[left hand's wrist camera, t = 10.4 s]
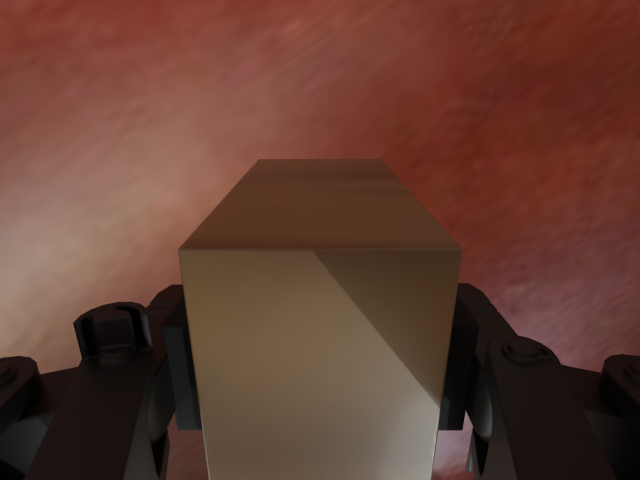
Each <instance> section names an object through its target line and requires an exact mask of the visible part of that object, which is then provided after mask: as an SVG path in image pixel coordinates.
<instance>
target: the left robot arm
mask: <svg viewBox="0 0 640 480" xmlns="http://www.w3.org/2000/svg"><path fill="white" fill-rule="evenodd" d="M73 324H74V328H75V332H76V336H77V340H78V344H79V348H80V352H81V356H82V360H81V362H80V364H79V366H78V367H74V368H70V369H65V370H60V371H55V372H50V373H45V374H40V373H39V370H38V367H37V363H36V362H35V361H34V360H33V359H31V358H30V357H23V356H15V357H4V358H0V480H166V473H167V464H168V456H169V448H170V443H169V436H168V431H167V427H168V425H169V423H170V421H171V419H172V416H173V414H174V412H175V415H176V422H177V428H178V430H202V423H201V416H200V408H199V401H198V394H197V386H196V379H195V371H194V364H193V357H192V349H191V342H190V335H189V327H188V320H187V312H186V305H185V298H184V290H183V285H171V286H169V287H167V288H166V289H164V290H162V291H161V292H159V293H158V294H157V295H156V296H155V298H154V299H153V300H152V301H151V303H150V305H148V306H147V308H145V307H144V306H142V305H141V304H139V303H134V302H116V303H111V304H106V305H102V306H99V307H97V308H94V309H91V310H89V311H88V312H86V313H84V314H82V315H81V316H79V317H78V318H77V319H76V321H75V322H74V323H73ZM465 411H466V412H467V414H468V416H469V418H470V420H471V423H472V425H473V431H472V436H471V442H470V448H469V453H468V459H467V465H466V471H468V472H471V470H472V464H473V472H474V480H640V356H633V355H624V354H620V355H613V356H610V357H608V358H607V359H606V360H605V361H604V365H603V368H602V371H601V373H599V372H594V371H589V370H584V369H579V368H574V367H569V366H565V365H561V364H560V361H559V359H558V358H557V356H556V355H555V354H554V353H553V352H552V350H550V349H549V348H547V347H546V346H544V345H543V344H541V343H539V342H537V341H535V340H532V339H530V338H526V337H522V336H518V335H517V334H516V333H515V331H514V330H513V329H512V328H511V327H510V325H509V324H508V323H507V322H506V320H505V319H504V318H503V317H502V315H501V314H500V313H499V312H497V309H496V308H495V307H494V305H493V304H491V302H490V301H489V299H488V298H487V297H486V296H485V294H484V293H483V292H482V291H480V290H479V289H477V288H475V287H474V286H472V285H470V284H469V283H458V287H457V295H456V302H455V310H454V317H453V324H452V332H451V339H450V346H449V354H448V361H447V368H446V376H445V383H444V391H443V398H442V405H441V413H440V420H439V427H438V430H462V429H463V423H464V417H465Z"/></svg>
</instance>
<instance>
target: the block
mask: <svg viewBox="0 0 640 480" xmlns="http://www.w3.org/2000/svg"><path fill="white" fill-rule="evenodd" d="M178 253H179V261H180V268H181V275H182V283H183V290H184V298H185V305H186V312H187V320H188V327H189V335H190V342H191V349H192V357H193V364H194V371H195V379H196V386H197V394H198V401H199V408H200V416H201V423H202V431H203V438H204V445H205V453H206V460H207V468H208V475H209V480H431V479H432V472H433V464H434V457H435V449H436V442H437V435H438V427H439V420H440V413H441V405H442V398H443V391H444V383H445V376H446V368H447V361H448V354H449V346H450V339H451V332H452V324H453V317H454V310H455V302H456V295H457V287H458V280H459V273H460V265H461V258H462V248H461V247H460V246H459V245H458V244H457V243H456V242H455V240H454V239H453V238H452V237H451V236H450V235H449V234H448V233H447V232H446V230H445V229H444V228H443V227H442V226H441V225H440V224H439V223H438V222H437V220H436V219H435V218H434V217H433V216H432V215H431V214H430V213H429V212H428V210H427V209H426V208H425V207H424V206H423V205H422V204H421V203H420V202H419V200H418V199H417V198H416V197H415V196H414V195H413V194H412V193H411V192H410V190H409V189H408V188H407V187H406V186H405V185H404V184H403V183H402V182H401V181H400V179H399V178H398V177H397V176H396V175H395V174H394V173H393V172H392V171H391V169H390V168H389V167H388V166H387V165H386V164H385V163H384V162H383V161H382V160H381V159H259V160H258V161H257V162H256V163H255V164H254V165H253V166H252V168H251V169H250V170H249V171H248V172H247V173H246V174H245V175H244V176H243V178H242V179H241V180H240V181H239V182H238V183H237V184H236V185H235V186H234V188H233V189H232V190H231V191H230V192H229V193H228V194H227V195H226V197H225V198H224V199H223V200H222V201H221V202H220V203H219V204H218V205H217V207H216V208H215V209H214V210H213V211H212V212H211V213H210V214H209V215H208V217H207V218H206V219H205V220H204V221H203V222H202V223H201V224H200V226H199V227H198V228H197V229H196V230H195V231H194V232H193V233H192V234H191V236H190V237H189V238H188V239H187V240H186V241H185V242H184V243H183V244H182V246H181V247H180V248H179V250H178Z"/></svg>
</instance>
